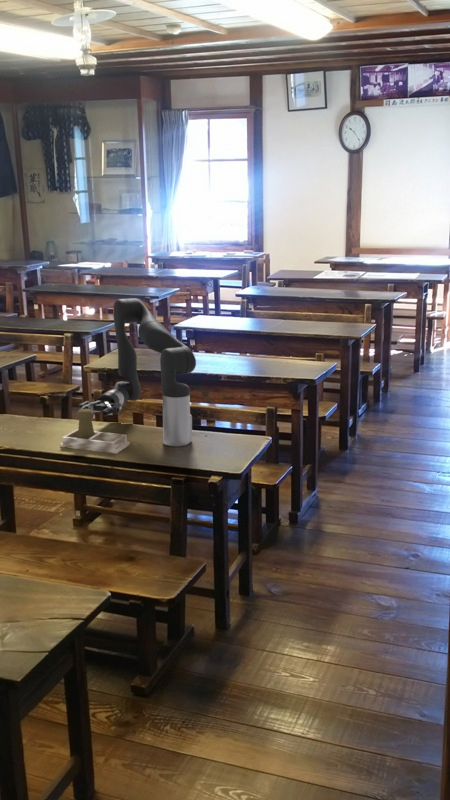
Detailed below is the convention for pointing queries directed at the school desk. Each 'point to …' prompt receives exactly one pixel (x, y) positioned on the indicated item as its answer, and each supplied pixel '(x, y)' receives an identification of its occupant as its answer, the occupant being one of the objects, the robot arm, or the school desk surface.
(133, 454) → the school desk surface
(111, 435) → the white divided tray
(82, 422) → the cork
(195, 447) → the school desk surface
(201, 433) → the school desk surface
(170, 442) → the robot arm
